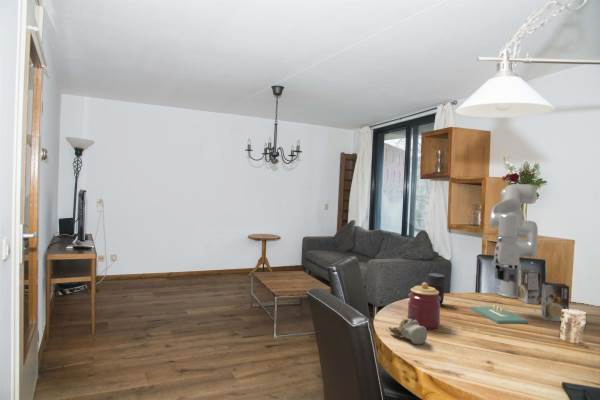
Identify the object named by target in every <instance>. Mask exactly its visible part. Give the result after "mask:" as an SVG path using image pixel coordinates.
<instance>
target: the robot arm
mask: <svg viewBox="0 0 600 400" xmlns="http://www.w3.org/2000/svg"><path fill="white" fill-rule="evenodd" d="M537 198H538V192H537V188H536V187H535V185H533V184H530V183H529V184H528V183H527V184H524V183H523V184H522V183H521V184H520V183H518V184H517V183H513V184H512V183H511V184H509V185H507V186H506V187H505V188H503V189H501V191H500V199H501V201H499V202H498V203H497V204H495V205H493V207H492V208H491V210H490V214H489V215H490V216H489V225H490V227H492V228H495V229H498V235H497V237H496V239H495V241H497V242H496V244H495V248H494V255H493V257H494V258H493V260H492V261H491V263H490V264H491V265H493V267H494V269H495V268H496V269H497V270H498V272H497V278H498V279H497V280H499V279H501V280H500V284H499V285H497V288H498V290H497V291H496V294H497V295H498V296H501V297H504V298H510V299H518V284H519V270H522V265H521V262H520V258H527V259H528V258H529V259H533V258H536V256H537V254H538V253H537V252H538V235H539V234H538V232H539V231H538V225H537V222H535V221H532V220H527V219H526V220H524V218H523V214H524V213H523V210H522V208H521V207H522V204H525V205H531V204H532V205H533V204H535V203H536V201H537ZM517 238H518V239H517ZM519 238H526V239H519ZM503 266H506V267H510V268H513V269H517V276H516V282H511V281H509V282H505V281H502V280H503V271H502V270H503Z"/></svg>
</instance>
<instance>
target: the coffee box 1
mask: <svg viewBox="0 0 600 400" xmlns="http://www.w3.org/2000/svg"><path fill="white" fill-rule="evenodd" d="M540 287H541V273H540V272H538V271H534V270H531V269H521V270H519V284H518V298H517V300H519V301H522V302H524V303H525V304H530V305H531V304H532V305H539V303H540Z"/></svg>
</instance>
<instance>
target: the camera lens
mask: <svg viewBox="0 0 600 400" xmlns="http://www.w3.org/2000/svg"><path fill="white" fill-rule="evenodd" d="M445 279H446V278H445V275H444V274H441V273H435V272H429V273H428V274H427V279H426V281H427V282H426V283H427V284H428V286H429V287H433V288H435V289H436V290H437V291H438V292H439V294H438V296H440V297H441V300H440V301H439V304H440V306H441V307H442V306H443V303H444V297H445V295H444V294H445V293H444V291H445V281H446V280H445Z"/></svg>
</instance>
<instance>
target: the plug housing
mask: <svg viewBox="0 0 600 400" xmlns="http://www.w3.org/2000/svg"><path fill="white" fill-rule="evenodd" d="M494 269H495V270H494V279H496V280H500V281H501V279H498V278H497V272H498V270H497V269H496V268H495V267H494ZM502 271H503V280H502V281H505V282H509V281H511V282H516V276H517V269H513V268H510V267H506V266H503V270H502Z"/></svg>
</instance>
